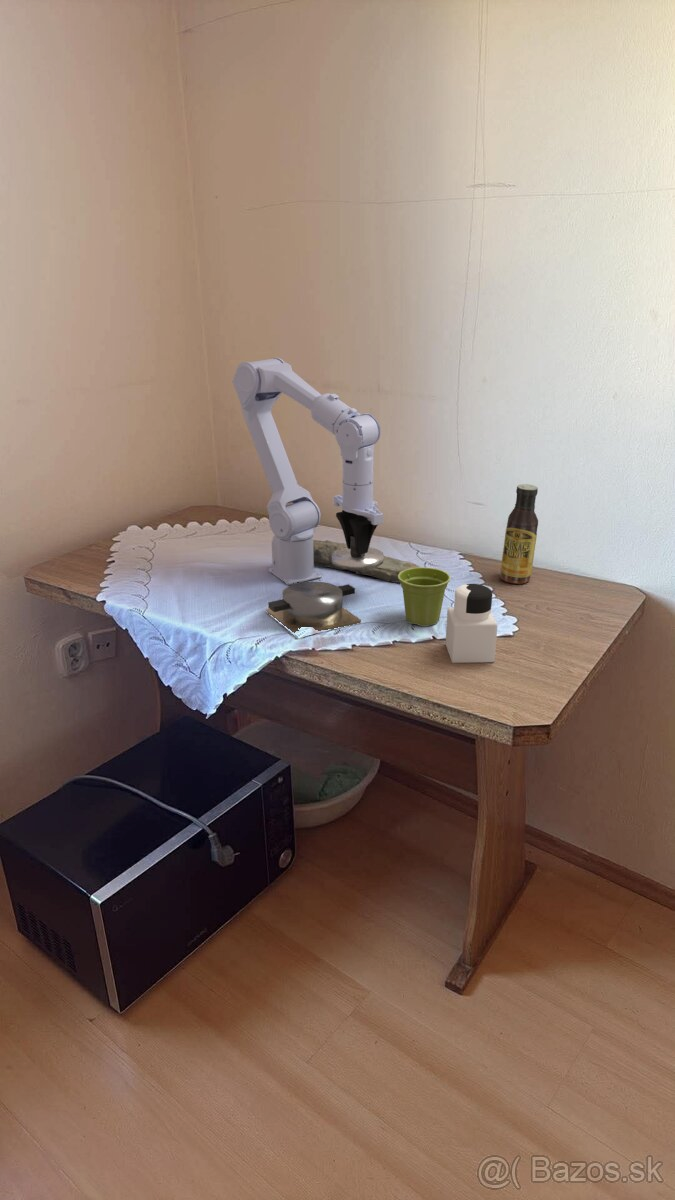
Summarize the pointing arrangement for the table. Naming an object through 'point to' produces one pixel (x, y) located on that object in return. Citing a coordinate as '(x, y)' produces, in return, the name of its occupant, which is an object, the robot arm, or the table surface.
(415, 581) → the plant pot
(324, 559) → the long grey stone
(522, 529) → the sauce bottle
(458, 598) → the medicine bottle
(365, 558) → the lid
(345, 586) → the pot
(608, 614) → the table surface
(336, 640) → the table surface
